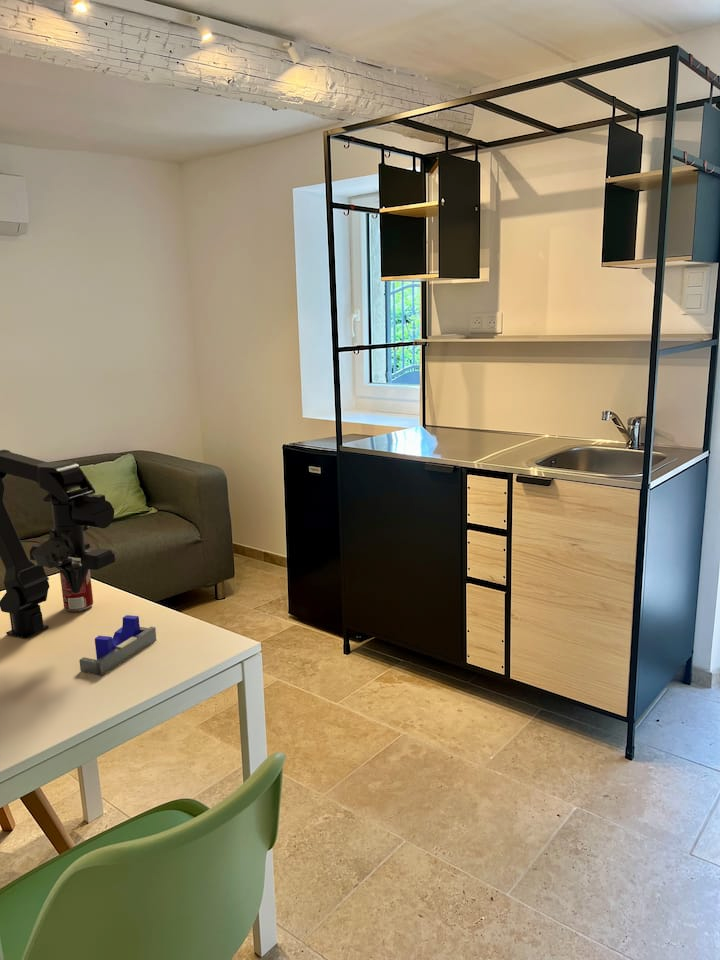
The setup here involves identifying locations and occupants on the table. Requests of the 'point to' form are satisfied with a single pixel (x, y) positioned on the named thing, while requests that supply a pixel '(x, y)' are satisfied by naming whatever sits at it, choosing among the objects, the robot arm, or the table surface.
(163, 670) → the table surface
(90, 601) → the soda can
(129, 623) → the cable clip
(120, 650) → the stop bracket
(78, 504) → the robot arm
